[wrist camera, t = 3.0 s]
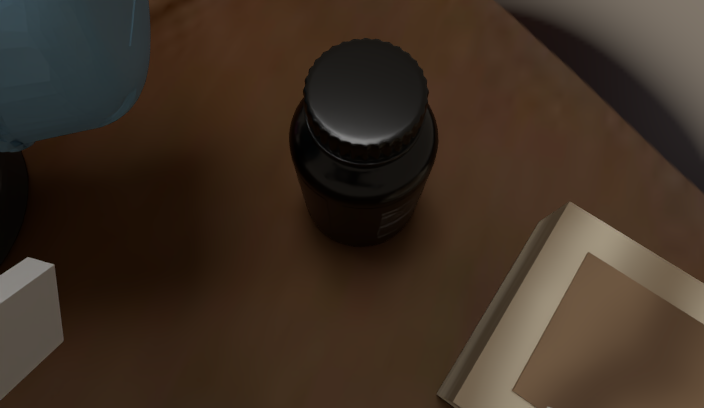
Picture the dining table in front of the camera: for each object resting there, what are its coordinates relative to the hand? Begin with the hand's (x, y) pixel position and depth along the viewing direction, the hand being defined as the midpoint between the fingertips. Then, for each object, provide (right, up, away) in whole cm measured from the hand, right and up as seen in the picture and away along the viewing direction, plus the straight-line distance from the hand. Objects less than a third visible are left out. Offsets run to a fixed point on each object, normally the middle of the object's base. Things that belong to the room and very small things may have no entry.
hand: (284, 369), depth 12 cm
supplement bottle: (+2, +5, +17) cm, 17 cm away
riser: (+15, -5, +13) cm, 20 cm away
